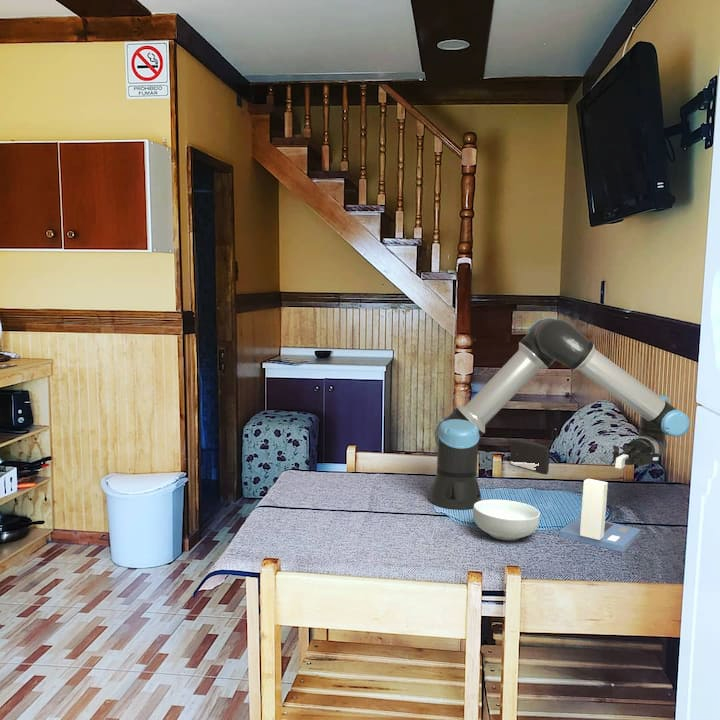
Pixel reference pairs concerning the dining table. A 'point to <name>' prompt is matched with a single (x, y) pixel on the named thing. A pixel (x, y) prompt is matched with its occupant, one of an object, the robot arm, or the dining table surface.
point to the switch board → (613, 537)
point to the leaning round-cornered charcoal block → (530, 454)
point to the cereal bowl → (506, 518)
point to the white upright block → (593, 509)
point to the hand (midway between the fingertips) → (618, 463)
